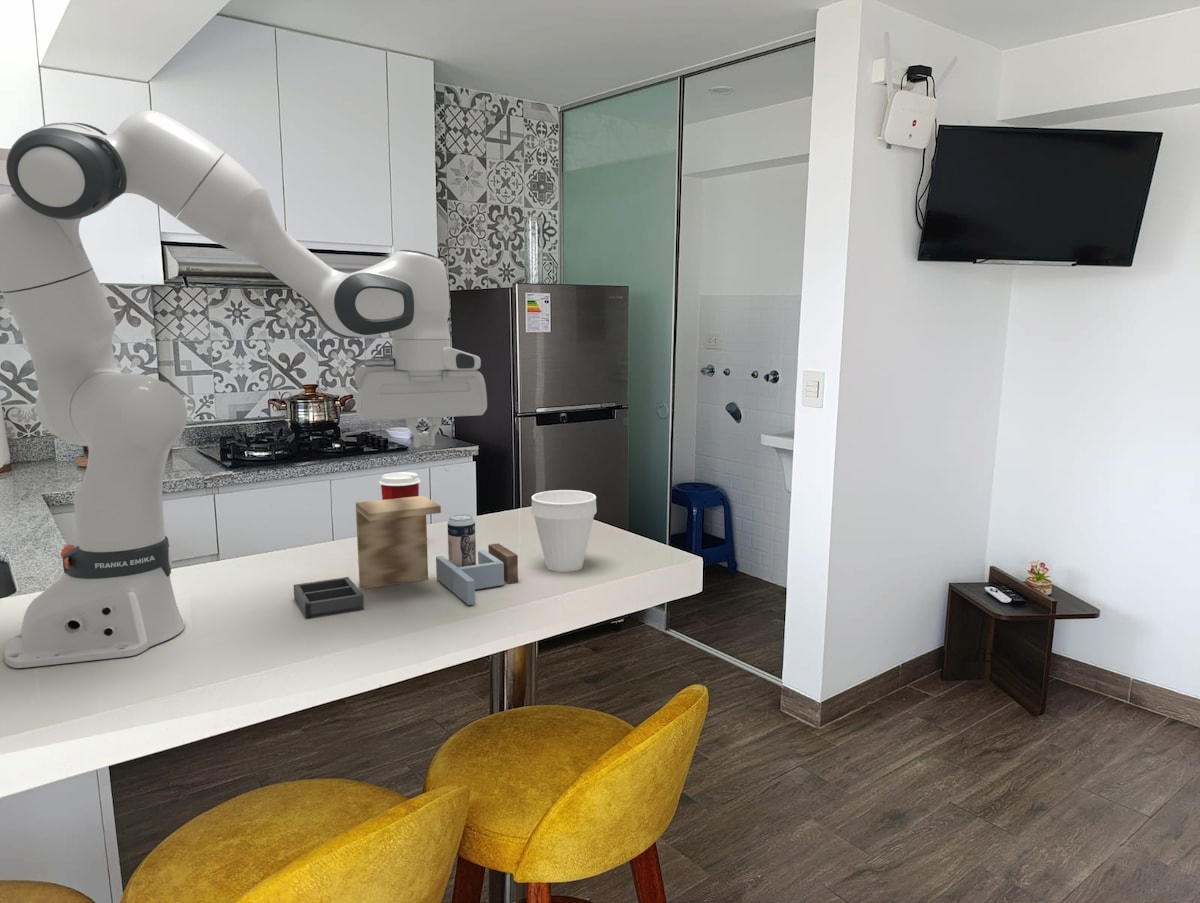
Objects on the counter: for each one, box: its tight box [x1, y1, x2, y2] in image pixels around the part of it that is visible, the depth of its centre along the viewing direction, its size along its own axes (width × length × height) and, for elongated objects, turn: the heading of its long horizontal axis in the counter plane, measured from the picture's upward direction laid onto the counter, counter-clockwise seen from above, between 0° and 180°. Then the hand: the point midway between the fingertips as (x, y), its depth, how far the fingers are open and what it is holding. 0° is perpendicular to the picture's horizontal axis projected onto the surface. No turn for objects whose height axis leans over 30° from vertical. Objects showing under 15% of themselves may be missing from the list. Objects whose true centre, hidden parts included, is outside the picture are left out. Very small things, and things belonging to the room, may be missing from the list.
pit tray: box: [293, 576, 365, 620], centre depth 138 cm, size 9×11×2 cm
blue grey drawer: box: [435, 549, 505, 606], centre depth 146 cm, size 9×16×4 cm, turn 29°
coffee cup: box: [378, 471, 421, 500], centre depth 172 cm, size 8×8×15 cm
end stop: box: [487, 543, 519, 585], centre depth 153 cm, size 2×9×5 cm, turn 29°
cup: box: [530, 489, 598, 573], centre depth 158 cm, size 12×12×14 cm
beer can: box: [447, 514, 477, 567], centre depth 148 cm, size 5×5×12 cm
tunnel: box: [355, 495, 442, 590], centre depth 144 cm, size 12×10×15 cm
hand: (424, 446), depth 132 cm, fingers closed
